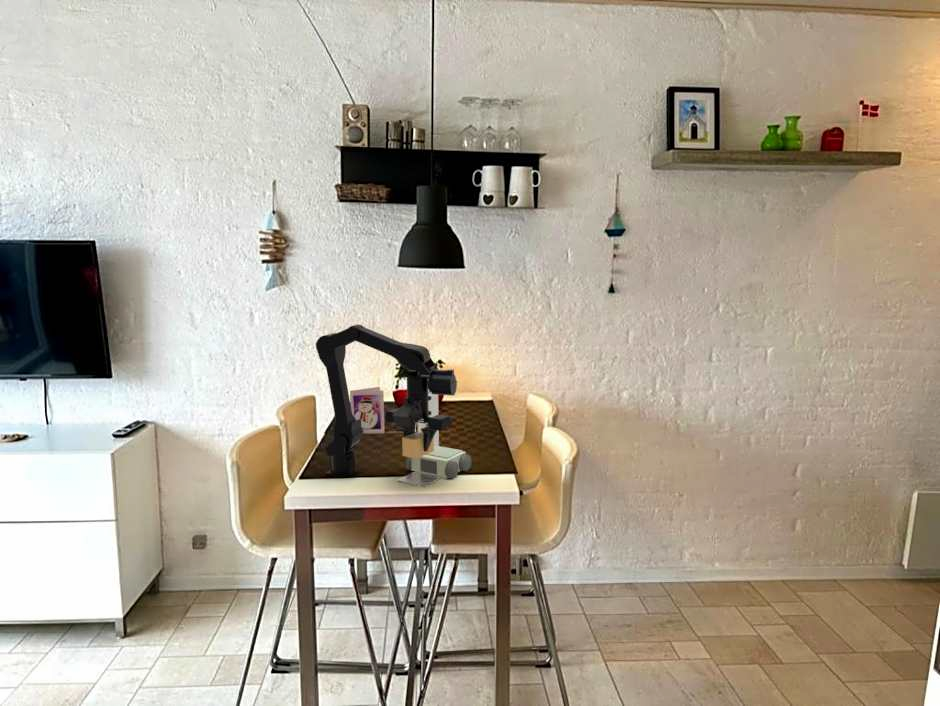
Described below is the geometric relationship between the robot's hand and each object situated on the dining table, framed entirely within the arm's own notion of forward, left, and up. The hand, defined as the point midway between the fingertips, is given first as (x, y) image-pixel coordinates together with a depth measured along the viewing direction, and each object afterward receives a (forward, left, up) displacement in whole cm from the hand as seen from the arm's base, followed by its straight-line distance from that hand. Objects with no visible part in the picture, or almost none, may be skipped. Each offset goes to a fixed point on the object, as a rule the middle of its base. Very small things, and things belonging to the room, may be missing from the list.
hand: (418, 449), depth 182 cm
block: (0, 0, -1) cm, 1 cm away
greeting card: (-45, +33, -9) cm, 56 cm away
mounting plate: (0, 0, -9) cm, 9 cm away
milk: (-12, +22, -9) cm, 26 cm away
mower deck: (0, +10, -9) cm, 13 cm away
